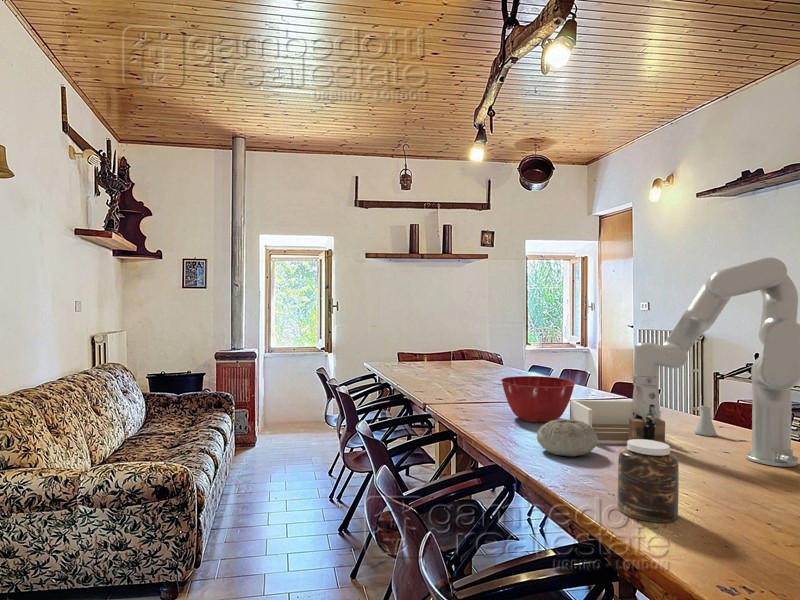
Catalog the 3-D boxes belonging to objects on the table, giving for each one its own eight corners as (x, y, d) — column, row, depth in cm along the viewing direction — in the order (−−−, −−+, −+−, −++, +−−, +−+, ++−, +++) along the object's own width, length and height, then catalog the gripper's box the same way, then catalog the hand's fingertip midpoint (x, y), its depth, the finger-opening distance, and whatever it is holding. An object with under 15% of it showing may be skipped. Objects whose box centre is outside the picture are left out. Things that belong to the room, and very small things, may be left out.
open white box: (660, 444, 176) (660, 410, 177) (588, 443, 176) (588, 409, 176) (635, 431, 194) (635, 401, 195) (569, 430, 194) (570, 399, 194)
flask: (711, 432, 195) (711, 405, 195) (721, 437, 188) (721, 408, 188) (690, 431, 196) (690, 404, 196) (699, 436, 189) (699, 408, 189)
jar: (659, 502, 123) (660, 437, 123) (688, 523, 111) (690, 451, 111) (609, 502, 122) (610, 436, 123) (633, 523, 111) (634, 450, 111)
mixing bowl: (542, 431, 192) (543, 388, 192) (485, 416, 215) (486, 378, 215) (589, 422, 209) (590, 382, 209) (531, 409, 232) (532, 374, 232)
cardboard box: (665, 450, 169) (665, 421, 169) (634, 449, 169) (634, 421, 169) (659, 447, 173) (659, 419, 173) (628, 446, 173) (628, 418, 173)
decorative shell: (525, 447, 170) (526, 415, 170) (573, 443, 175) (574, 413, 175) (558, 463, 153) (559, 428, 153) (610, 459, 158) (611, 425, 158)
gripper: (670, 386, 164) (668, 444, 164) (645, 377, 181) (643, 430, 181) (646, 384, 164) (643, 442, 164) (623, 376, 181) (620, 429, 181)
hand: (643, 435), depth 173 cm, fingers open, 7 cm apart
